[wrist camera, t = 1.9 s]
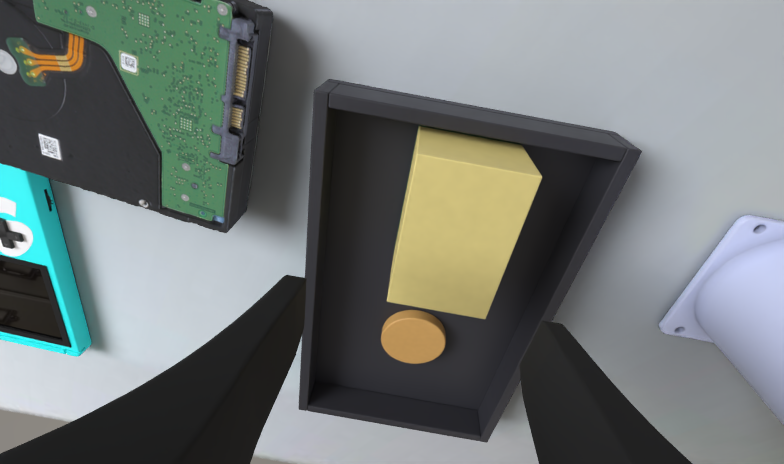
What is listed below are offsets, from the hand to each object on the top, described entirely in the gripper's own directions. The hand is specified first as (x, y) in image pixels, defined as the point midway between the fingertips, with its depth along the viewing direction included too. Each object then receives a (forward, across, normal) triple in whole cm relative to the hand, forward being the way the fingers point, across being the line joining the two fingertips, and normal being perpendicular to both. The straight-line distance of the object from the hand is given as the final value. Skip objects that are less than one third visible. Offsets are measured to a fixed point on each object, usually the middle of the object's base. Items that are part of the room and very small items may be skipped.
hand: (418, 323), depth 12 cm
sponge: (+9, -1, 0) cm, 9 cm away
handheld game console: (+10, +26, +9) cm, 29 cm away
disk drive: (+10, +16, -3) cm, 19 cm away
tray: (+9, -1, +6) cm, 11 cm away
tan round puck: (+9, -1, +9) cm, 13 cm away
